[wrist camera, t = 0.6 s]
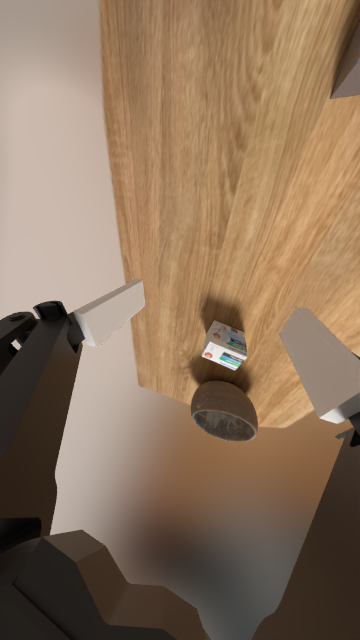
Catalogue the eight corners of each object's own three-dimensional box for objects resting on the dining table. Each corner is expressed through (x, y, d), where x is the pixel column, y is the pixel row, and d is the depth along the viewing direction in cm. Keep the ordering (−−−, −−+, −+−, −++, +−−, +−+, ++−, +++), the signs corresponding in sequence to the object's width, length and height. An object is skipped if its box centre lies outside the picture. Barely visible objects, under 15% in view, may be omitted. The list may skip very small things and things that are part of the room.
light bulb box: (245, 332, 43) (249, 357, 34) (234, 345, 46) (235, 371, 38) (213, 319, 44) (209, 340, 35) (205, 333, 48) (200, 356, 39)
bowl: (233, 410, 67) (234, 449, 55) (189, 388, 69) (181, 421, 57) (266, 389, 53) (276, 435, 41) (208, 362, 55) (203, 399, 43)
